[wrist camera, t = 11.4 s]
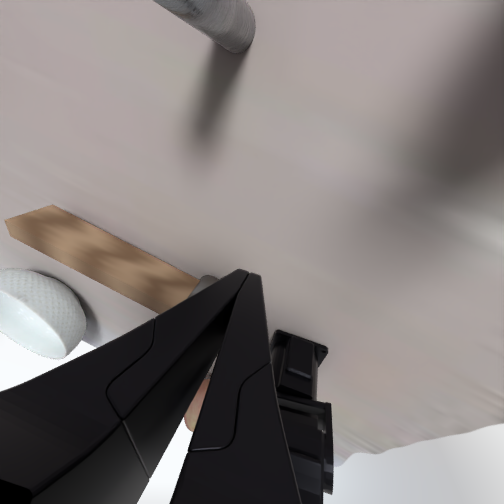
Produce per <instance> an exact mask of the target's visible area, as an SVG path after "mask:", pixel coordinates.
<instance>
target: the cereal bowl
mask: <svg viewBox="0 0 504 504" xmlns="http://www.w3.org/2000/svg"><path fill="white" fill-rule="evenodd" d="M86 325H87V323H86V318H85V314H84V311H83V309H82V308H81V304H80V301H79V299H78V297H77V296H76V295H75V293H74V292H73V291H72V290H71V289H70V288H69V287H67V286H66V285H65V284H63V283H62V282H60V281H59V280H57V279H54V278H51V277H46V276H44V275H41V274H39V273H37V272H33V271H29V270H24V269H14V268H13V269H12V268H11V269H1V270H0V332H2V333H3V334H4V335H6V336H7V337H9V338H10V339H11V340H13V341H14V342H16V343H18V344H19V345H21V346H23V347H24V348H26V349H28V350H30V351H32V352H34V353H36V354H38V355H41V356H43V357H47V358H50V359H63V358H65V357H66V356H67V355H68V354H70V352H71V351H72V350H73V349H74V348H75V347H76V346H77V345H78V344H79V342H80V341H81V340H82V338H83V336H84V334H85V331H86Z"/></svg>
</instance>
